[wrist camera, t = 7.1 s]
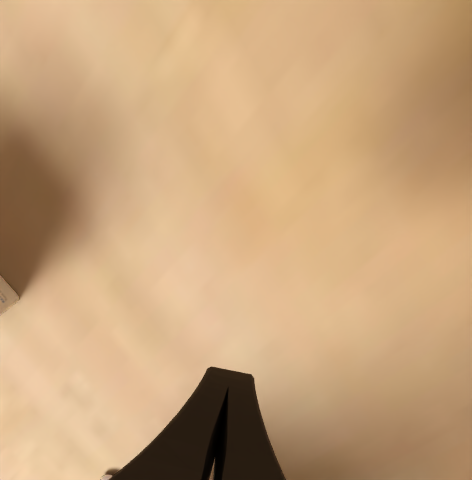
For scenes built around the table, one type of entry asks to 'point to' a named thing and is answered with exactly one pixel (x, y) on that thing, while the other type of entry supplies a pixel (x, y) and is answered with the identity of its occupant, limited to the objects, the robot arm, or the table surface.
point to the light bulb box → (6, 296)
